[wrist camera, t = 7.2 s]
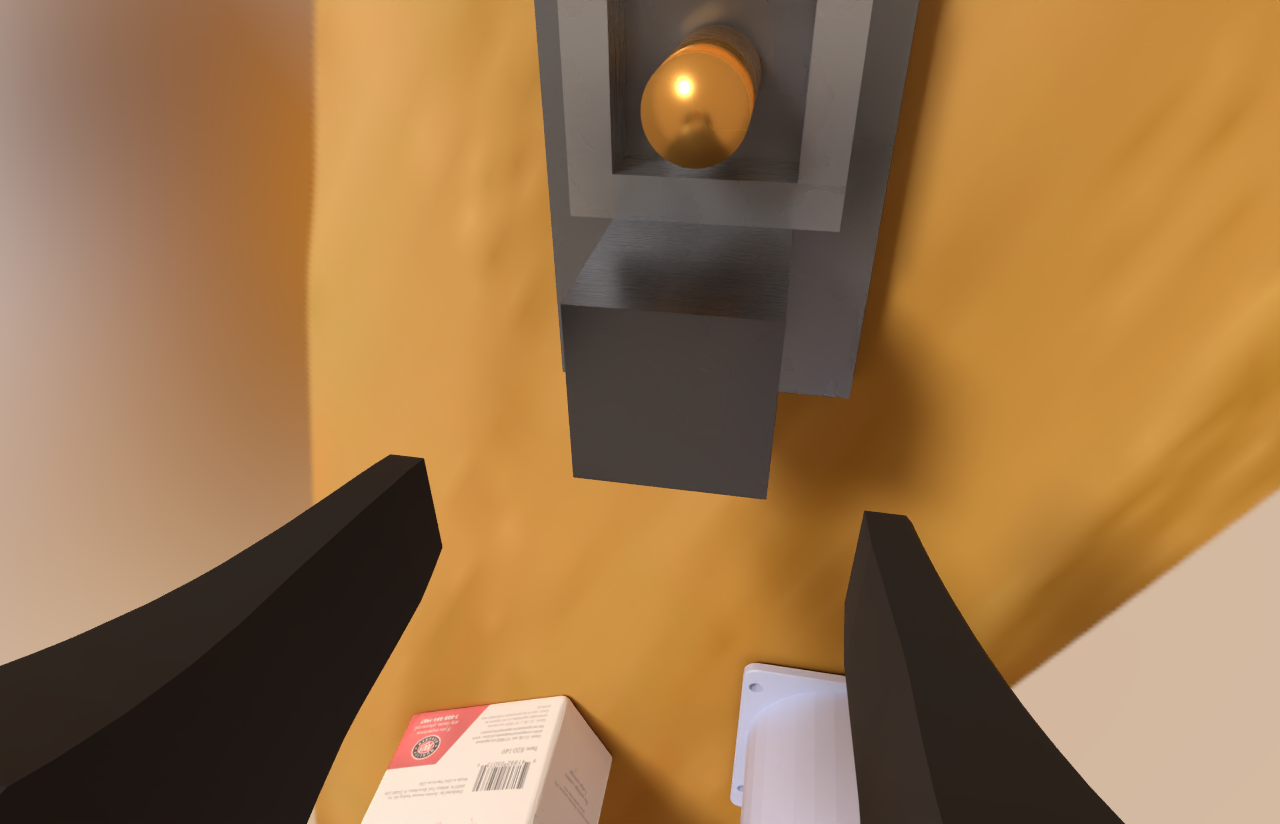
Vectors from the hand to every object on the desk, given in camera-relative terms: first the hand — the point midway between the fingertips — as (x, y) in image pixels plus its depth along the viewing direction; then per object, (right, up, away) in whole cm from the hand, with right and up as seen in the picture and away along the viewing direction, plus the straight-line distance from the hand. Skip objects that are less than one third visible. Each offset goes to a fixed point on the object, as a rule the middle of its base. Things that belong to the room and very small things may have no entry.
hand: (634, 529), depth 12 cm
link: (+2, +8, +5) cm, 10 cm away
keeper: (+2, +8, +6) cm, 10 cm away
